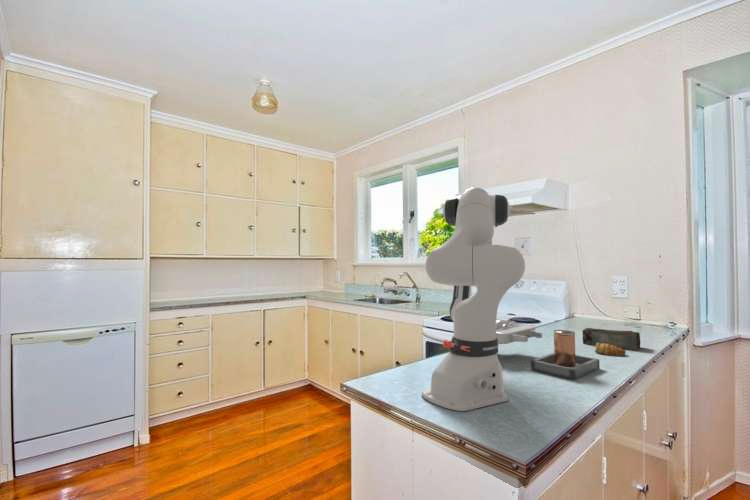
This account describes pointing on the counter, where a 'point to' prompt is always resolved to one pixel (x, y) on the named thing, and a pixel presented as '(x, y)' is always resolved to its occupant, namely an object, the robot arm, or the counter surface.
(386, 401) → the counter surface
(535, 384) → the counter surface
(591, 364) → the tray
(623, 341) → the beverage carton
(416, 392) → the counter surface
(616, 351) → the pastry
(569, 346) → the tin can
